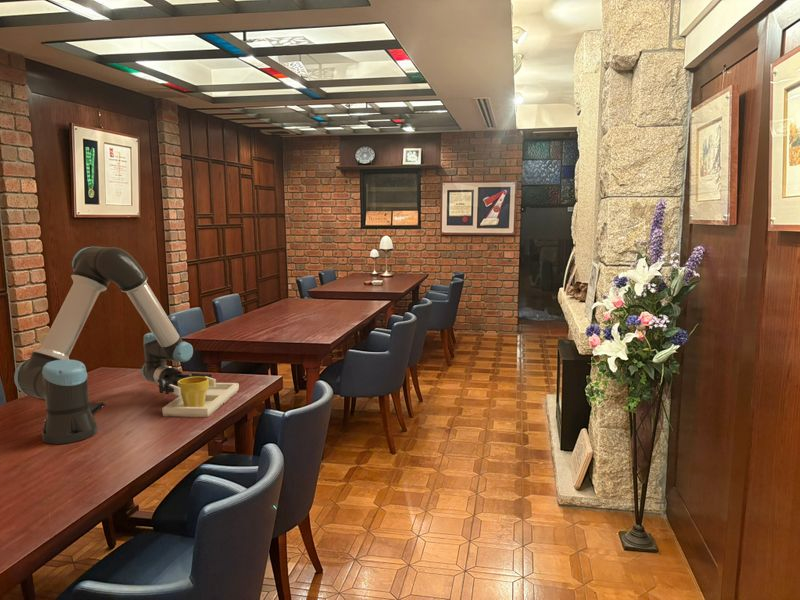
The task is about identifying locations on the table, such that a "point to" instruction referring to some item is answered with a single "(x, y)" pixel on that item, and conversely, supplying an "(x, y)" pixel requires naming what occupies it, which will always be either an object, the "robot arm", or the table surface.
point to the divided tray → (212, 402)
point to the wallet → (91, 408)
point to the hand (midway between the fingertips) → (197, 387)
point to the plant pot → (194, 391)
